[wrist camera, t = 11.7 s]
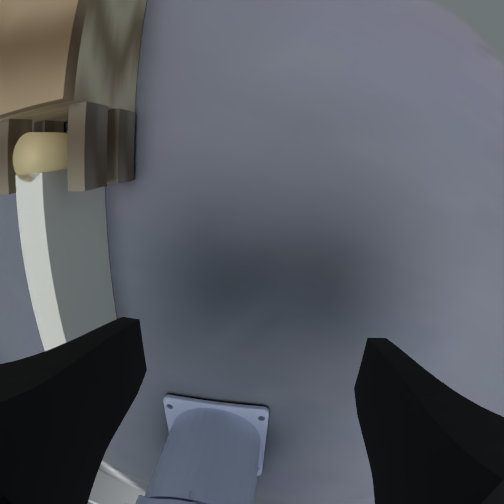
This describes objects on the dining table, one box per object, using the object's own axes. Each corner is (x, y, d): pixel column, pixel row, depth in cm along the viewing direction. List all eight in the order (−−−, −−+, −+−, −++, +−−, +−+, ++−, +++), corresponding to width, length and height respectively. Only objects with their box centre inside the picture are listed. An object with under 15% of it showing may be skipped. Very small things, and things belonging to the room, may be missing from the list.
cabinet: (136, 179, 18) (65, 196, 11) (-22, 188, 19) (-83, 205, 12) (150, -6, 14) (98, -57, 7) (-13, 51, 15) (-71, 42, 9)
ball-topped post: (128, 370, 22) (94, 422, 16) (102, 364, 22) (65, 412, 16) (107, 132, 17) (45, 129, 11) (77, 135, 17) (13, 135, 11)
